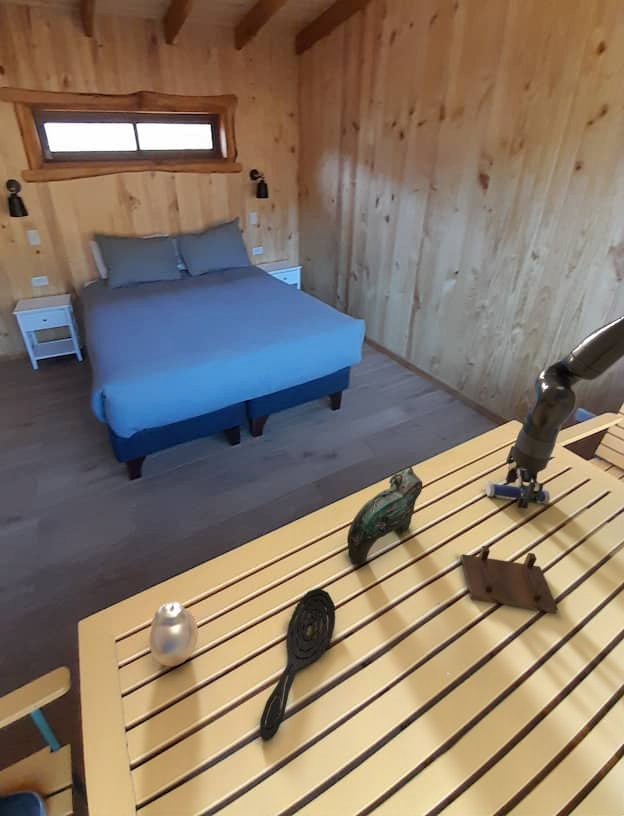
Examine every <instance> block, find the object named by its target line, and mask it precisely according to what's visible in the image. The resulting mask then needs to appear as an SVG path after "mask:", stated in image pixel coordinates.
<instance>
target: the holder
mask: <svg viewBox="0 0 624 816" xmlns="http://www.w3.org/2000/svg"><path fill="white" fill-rule="evenodd" d="M489 555H490V548H489V546H488V545H482V546H481V548H480V551H479V554H478V556H476V555H469V554H464V553H463V554H462V553H461V555H460V562H461V567H462V570H463V575H464V578H465V581H466V587H467V590H468V593H469V597H470V599H472V600H478V601H483V602H489V603H493V604H494V603H495V604H500V605H506V606H510V607H511V606H512V607H516V608H523V609H528V610H534V611H540V612H545V613H552V614H557V613H558V611H559V607H558V606H557V602H556V601H555V599H554V596H553V594H552V591H551V589H550V587H549V584H548V582H547V579H546V577H545V575H544V573H543V570H542V568H541V566H539V565H535V563H536V562H537V556H536V554H535V553H533V552H528V553H527V555H526V557H525V558H524V561H523V563H520V562H514V561H507V560H502V559H496V558H489Z"/></svg>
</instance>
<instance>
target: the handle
mask: <svg viewBox="0 0 624 816" xmlns="http://www.w3.org/2000/svg"><path fill="white" fill-rule="evenodd" d="M484 489H485V494H486V495H487V497H494V496H498V497H503V498H505V497H506V498H513V499H519V497H520V495H521V488H520V487H519V486H513V485H505V484H497V483H493V482H492V481H486V483H485V487H484ZM526 492H527V489H525V493H526ZM550 500H551V496H550V491H549V490H548V489H546V488H543V489H542V491H541V494H540V497H539V499H538V502H540V503H541V504H546V505H547V504H550Z"/></svg>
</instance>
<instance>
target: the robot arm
mask: <svg viewBox="0 0 624 816" xmlns="http://www.w3.org/2000/svg"><path fill="white" fill-rule="evenodd" d="M623 357H624V315H622V316H620V317H618V318H616V319H614V320H612V321H609V322H608V323H606V324H604V325H602V326H600V327H598V328H597V329H595V330H594V331H592V332H591V333H590V334H588V335H587V336H585V338H584V339H582V340H581V341H580V342H579V343H578V344H577V345H576V346H575V347H574V348H573V349H572V350H571V351H570V352H569V353H568V354H567V355H565V356H563V357H562V358H560V359H558V360H557V361H555V362H553V363H552V364H550V365H548V366H547V367H545V368H544V369H543V370H542V371H540V373H539V374H538V375H537V377H536V378H535V380H534V388H535V392H536V396H537V398H536V402H535V405H534V406H533V407H531V408H530V409H529V410H528V411H527V413H526V415H525V418H524V421H523V424H522V426H521V429H520V430H519V432H518V433H517V437H516V439H515V443H514V445H511V447H510V450H509V453H508V455H507V458H506V460H505V462H506V464H508V466H507V469H508V471H507V474H506V477H505V481H506V482H507V483H510V484H515V483H516V482H517V480H518V487H520V488H521V495H520V497H519V498H518V500H517V503H516V506H517V508H519V509H528V508H529V505H530V504H538V502H539V501H538V499H539V497H540V494H541V491H542V489H544V484H543V483H542V482H538V480H537V479H538V474H539V473H540V472H543V471H544V470H545V469H547V466H548V464H549V461H550V459H551V456H552V454H553V451H554V449H555V446H556V443H557V439H558V436H559V433H560V432H561V429H562V425H563V424H564V423H565V422H566V421H567V420H568V419H569V417H570V416H571V415H572V413H573V412H574V411H575V408H576V405H577V402H578V396H577V391H576V390H575V386H576V384H577V383H579V382H581V381H583V380H584V381H587V382H588V381H589V382H591V381H595V380H597V379H598V378H600V377H601V376H602V375H604V374H605V373H606V372H608V370H610V369H611V368H612V367H613V366H614V365H615V364H617V363H618V362H619V361H620V360H621V359H622V358H623ZM524 483H528V484H524ZM525 489H527V492H526V493H525Z"/></svg>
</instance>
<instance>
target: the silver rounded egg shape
mask: <svg viewBox="0 0 624 816" xmlns="http://www.w3.org/2000/svg"><path fill="white" fill-rule="evenodd" d="M198 636H199V627H198V622H197V619H196V618H195V616H194V615H193V613H192V612H191V611H190V610H188V609H186V608H185V607H184V605H183V604H182V603H181V602H179V601H171V602H168V603H164V604H162V605H161V606H160V607H158V609H157V610H156V612H155V613H154V617H153V618H152V620H151V623H150V631H149V636H148V641H149V642H148V644H149V650H150V653H151V654H152V657H153V658H154V659H155V661H157V662H158V663H159V664H160V665H163V666H165V667H176V666H179V665H181V664H182V663H184V662H185V661H187V660H188V659H189V658H190V656H191V655H192V654H193V652H194V650H195V648H196V647H197V643H198V639H199V637H198Z"/></svg>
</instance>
